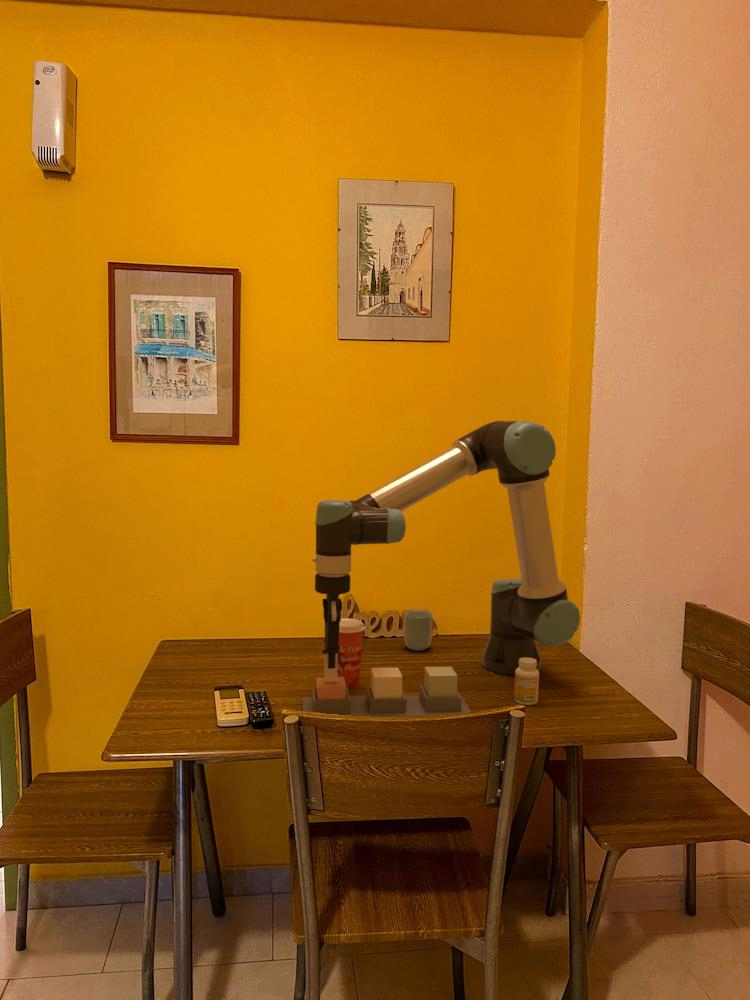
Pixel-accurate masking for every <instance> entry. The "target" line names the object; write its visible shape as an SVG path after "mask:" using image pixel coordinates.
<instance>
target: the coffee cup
mask: <svg viewBox="0 0 750 1000" xmlns="http://www.w3.org/2000/svg"><path fill="white" fill-rule="evenodd" d="M365 629H366V627H365V625H364V623H363V621H361V620H359V619H355V618H347V617H346V618H341V621H340V624H339V646H340V650H339V652H338V669H337V677H344V680H345V684H346V687H347V688H353V687H357V686H358V685H359V683H360V674H361V673H360V672H361V660H362V648H363V636H364V630H365Z"/></svg>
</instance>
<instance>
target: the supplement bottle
mask: <svg viewBox="0 0 750 1000" xmlns="http://www.w3.org/2000/svg"><path fill="white" fill-rule="evenodd" d="M519 666H520V667H518V668H517V669H516V671H515V675H514V690H513V691H514V694H513V695H514V696H513V699H514V701H515V702H516V703H518V704H520V705H524V706H533V705H536V704H538V701H539V690H540V689H539V687H540V671H538V670H537V669H536V666H537V660H536V659H533V658H529V657H523V658H520V659H519Z"/></svg>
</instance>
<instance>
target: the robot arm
mask: <svg viewBox="0 0 750 1000" xmlns="http://www.w3.org/2000/svg"><path fill="white" fill-rule="evenodd" d="M556 450H557V449H556V443H555V440H554V437H553V435H552V434H551V432H550V431H549V429H547V428H546V427H545V426H544V425H541V424H540V423H538V422H532V421H528V420H507V421H505V420H495V421H492V422H488V423H486V424H484V425H482V426H480V427H478V428H476V429H474V430H472V431H470V432H468V433H467V434H465V435H463V436H462V437H460V438H458V439H455V441H453V442H452V444H451V448H449V449H447V450H445V451H442V453H439V454H437V455H435V456H434V457H432V458H430V459H429V460H427V461H425V462H423V463H421V464H419V465H417V466H416V467H414V468H412V469H411V470H409V471H406V472H405V473H403V474H401V475H400V476H398V477H396V478H394V479H392V480H391V481H389V482H387V483H385V484H383V485H382V486H380V487H378V488H376V489H374V490H372V491H370V492H369V493H367V494H365V495H363V496H361V497H359V498H357V499H356V500H345V499H344V500H343V499H338V500H337V499H326V500H324V499H323V500H321V501H319V502H318V504H317V506H316V515H315V523H314V524H315V557H312V562H313V563H315V572H316V574H315V575H314V590H315V593H318V594H321V595H325V598H323V599H322V609H323V619H324V640H323V643H324V649H322V651H321V652H322V654H323V655H324V666H323V667H324V669H323V670H324V672H323V675H324V676H323V677H324V682H337V669H338V652H339V650H340V646H339V624H340V621H341V619H342V617H341V615H342V612H341V611H342V610H343V601H342V598H340V595H345V594H347V593H349V592H350V591H351V575H350V572H352V546H353V545H354V546H357V545H381V544H383V545H384V544H385V545H390V544H396V543H397V544H398V543H400V542H401V541H403V539H404V537H405V534H406V532H407V531H406V530H407V529H406V528H407V527H406V526H407V525H406V524H407V523H406V517H405V516H404V514H403V511H405V510H407V509H408V508H410V507H411V506H413V505H415V504H417V503H419V502H420V501H422V500H425V499H426V498H428V497H430V496H431V495H434V494H435V493H437V492H438V491H441V490H443V489H444V488H446V487H448V486H450V485H451V484H453V483H455V482H456V481H458V480H460V479H461V478H464V477H465V476H469V477H473V476H475V475H477V474H479V473H481V472H484V471H488V470H497V475H498V476H497V477H498V481H499V484H500V485H501V486H503V487H504V488H506V489H507V494H508V495H507V496H508V501H509V502H508V503H509V508H510V515H511V520H512V521H511V522H512V528H513V533H514V539H515V547H516V553H517V558H518V564H519V570H520V571H519V573H520V576H521V578H502V579H496V580H495V581H494V582H493V583H492V588H491V593H490V596H491V597H490V598H491V599H490V600H491V602H490V607H491V608H490V629H489V630H490V631H489V637H488V639H487V643H486V646H485V649H484V650H483V652H482V658H481V659H482V660H481V661H482V662H481V665H482V666H483V668H485V669H487V670H488V671H491V672H493V673H497V674H501V675H510V676H515V671H516V669H517V668H518V667H520V666H519V659H520V658H523V657H529V658H533V659H536V660H537V666H536V669H537V670H538V671H539V672H540V671H541V669H542V658H541V655H540V652H539V647H538V644H537V642H538V643H539V644H542V645H547V646H550V647H558V646H563V645H565V644H566V643H568V642H569V641H571V639H572V638H573V637H574V635H575V633H576V632H577V631H578V630H579V627H580V623H581V614H580V609H579V608H578V606H577V605H576V604H575V603H574V602H573V601H571V600H569V596H568V591H567V585H566V583H565V582H563V581H562V580H561V579H559V574H558V567H557V561H556V560H557V559H556V554H555V547H554V540H553V535H552V533H553V532H552V528H551V520H550V514H549V508H548V501H547V495H546V494H547V493H546V488H545V483H546V481H547V480H548V478H549V477H550V476H551V475H550V468H551V467H552V465H553V461H554V460H555V458H556V454H557V453H556V452H557V451H556Z"/></svg>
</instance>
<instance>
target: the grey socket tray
mask: <svg viewBox="0 0 750 1000" xmlns="http://www.w3.org/2000/svg"><path fill="white" fill-rule="evenodd" d="M365 689H366V690H365V696H359V695H358V696H350V693H349V687H346V699H339V700H316V687H311V697H301V709H302V710H303V711H313V712H320V713H326V714H338V715H351V716H371V717H422V716H438V715H450V714H461V713H469V712H472V710H471V709H470V707H469V706H468V704H467V703H466V701H465V699H464V698H463V697H462V695H461V693H459V692H458V691H459V690H457V697H428V695H427V693H426V691H425V690H424V685H419V691H418V694H408V695H407V694H406V695H405V692H404V690H403V689H402V698H383V699H373V696H372V692H371V686H366V687H365ZM302 710H301V711H302ZM303 711H302V712H303Z"/></svg>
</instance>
